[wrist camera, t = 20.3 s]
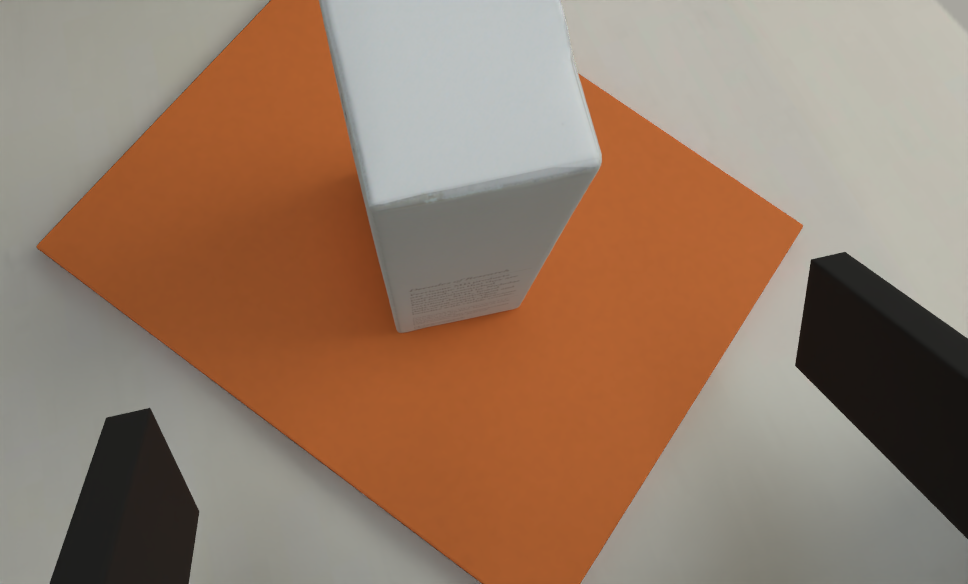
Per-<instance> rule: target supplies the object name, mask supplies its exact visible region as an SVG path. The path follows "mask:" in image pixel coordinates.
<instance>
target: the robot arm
mask: <svg viewBox="0 0 968 584" xmlns="http://www.w3.org/2000/svg"><path fill="white" fill-rule="evenodd" d="M795 366H796V367H797V368H798V369H799V370H800V371H801V372H802V373H803V374H804V375H805V376H806V377H807V378H808V379H809V380H810V381H811V382H812V383H813V384H814V385H815V386H816V387H817V388H818V389H819V390H820V391H821V392H822V393H823V394H824V395H825V396H826V397H827V398H828V399H829V400H830V401H831V402H832V403H833V404H834V405H835V406H836V407H837V408H838V409H839V410H840V411H841V412H842V413H843V414H844V415H845V416H846V417H847V418H848V419H849V420H850V421H851V422H852V423H853V424H854V425H855V426H856V427H857V428H858V429H859V430H860V431H861V432H862V433H863V434H864V435H865V436H866V437H867V438H868V439H869V440H870V441H871V442H872V443H873V444H874V445H875V446H876V447H877V448H878V449H879V450H880V451H881V452H882V453H883V454H884V455H885V456H886V457H887V458H888V459H889V460H890V461H891V462H892V463H893V464H894V465H895V466H896V467H897V469H898V470H899V471H900V472H901V473H902V474H903V475H904V476H905V477H906V478H907V479H908V480H909V481H910V482H911V483H912V484H913V485H914V486H915V487H916V488H917V489H918V490H919V491H920V492H921V493H922V494H923V495H924V496H925V497H926V498H927V499H928V500H929V501H930V502H931V503H932V504H933V505H934V506H935V507H936V508H937V509H938V510H939V511H940V512H941V513H942V514H943V515H944V516H945V517H946V518H947V519H948V520H949V521H950V522H951V523H952V524H953V525H954V526H955V527H956V528H957V529H958V530H959V531H960V532H961V533H962V534H963V535H964V536H965V537H966V538H967V539H968V339H967V338H966V337H965V336H963V335H962V334H960V333H959V332H958V331H956V330H955V329H953V328H952V327H950V326H949V325H948V324H946V323H945V322H943V321H942V320H941V319H939V318H938V317H936V316H935V315H933V314H932V313H931V312H929V311H928V310H926V309H925V308H924V307H922V306H921V305H919V304H918V303H916V302H915V301H914V300H912V299H911V298H909V297H908V296H907V295H905V294H904V293H902V292H901V291H899V290H898V289H897V288H895V287H894V286H892V285H891V284H890V283H888V282H887V281H885V280H884V279H883V278H881V277H880V276H878V275H877V274H875V273H874V272H873V271H871V270H870V269H868V268H867V267H866V266H864V265H863V264H861V263H860V262H858V261H857V260H856V259H854V258H853V257H851V256H850V255H849V254H847V253H846V252H843V253H838V254H834V255H830V256H825V257H821V258H816V259H812V260H811V264H810V271H809V277H808V284H807V290H806V297H805V304H804V310H803V317H802V324H801V330H800V337H799V344H798V350H797V357H796V364H795ZM198 516H199V510H198V508H197V506H196V504H195V501H194V499H193V497H192V495H191V493H190V491H189V489H188V487H187V485H186V483H185V480H184V478H183V476H182V474H181V472H180V470H179V468H178V466H177V464H176V461H175V459H174V457H173V455H172V453H171V451H170V449H169V447H168V445H167V442H166V440H165V438H164V436H163V434H162V432H161V430H160V428H159V426H158V423H157V421H156V419H155V417H154V415H153V413H152V411H151V409H150V408H148V409H143V410H139V411H134V412H130V413H125V414H121V415H117V416H112V417H108V418H106V420H105V423H104V426H103V429H102V432H101V435H100V437H99V440H98V443H97V446H96V449H95V452H94V455H93V458H92V461H91V464H90V467H89V470H88V473H87V476H86V478H85V481H84V484H83V487H82V490H81V493H80V496H79V499H78V502H77V505H76V508H75V511H74V514H73V517H72V519H71V522H70V525H69V528H68V531H67V534H66V537H65V540H64V543H63V546H62V549H61V552H60V555H59V558H58V561H57V563H56V566H55V569H54V572H53V575H52V578H51V581H50V584H189V577H190V570H191V564H192V557H193V550H194V543H195V537H196V530H197V523H198Z"/></svg>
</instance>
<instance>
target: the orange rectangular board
mask: <svg viewBox="0 0 968 584" xmlns="http://www.w3.org/2000/svg"><path fill="white" fill-rule="evenodd" d="M578 75H579V78H580V82H581V85H582V88H583V92H584V96H585V99H586V103H587V106H588V109H589V113H590V116H591V119H592V123H593V126H594V130H595V133H596V136H597V140H598V143H599V147H600V150H601V153H602V163H601V166H600V168H599V170H598V172H597V174H596V176H595V177H594V179H593V180H592V182H591V183H590V185H589V187H588V189H587V191H586V192H585V194H584V195H583V197H582V199H581V201H580V202H579V204H578V205H577V207H576V209H575V210H574V212H573V214H572V215H571V217H570V219H569V221H568V223H567V224H566V226H565V228H564V229H563V231H562V233H561V235H560V236H559V238H558V240H557V242H556V243H555V245H554V247H553V249H552V251H551V252H550V254H549V256H548V257H547V259H546V261H545V263H544V264H543V266H542V268H541V270H540V271H539V273H538V275H537V277H536V278H535V280H534V282H533V284H532V285H531V287H530V289H529V291H528V292H527V294H526V296H525V298H524V299H523V301H522V303H521V305H520V306H519V307H518V308H515V309H512V310H507V311H503V312H498V313H493V314H488V315H484V316H479V317H474V318H470V319H465V320H460V321H455V322H451V323H446V324H441V325H436V326H431V327H426V328H422V329H418V330H414V331H410V332H404V333H399V332H398V331H397V329H396V326H395V322H394V318H393V314H392V310H391V306H390V302H389V298H388V294H387V290H386V286H385V283H384V279H383V275H382V271H381V267H380V264H379V260H378V256H377V252H376V248H375V244H374V240H373V236H372V232H371V228H370V223H369V219H368V215H367V211H366V207H365V203H364V199H363V194H362V190H361V186H360V182H359V178H358V174H357V170H356V165H355V161H354V157H353V153H352V148H351V144H350V140H349V135H348V131H347V126H346V122H345V118H344V113H343V109H342V104H341V100H340V95H339V91H338V87H337V82H336V77H335V73H334V68H333V63H332V58H331V54H330V49H329V44H328V40H327V35H326V31H325V27H324V22H323V17H322V12H321V8H320V4H319V0H271V1H270V2H269V3H268V4H267V5H266V6H265V7H264V8H263V9H262V10H261V11H260V12H259V13H258V14H257V15H256V16H255V17H254V19H253V20H252V21H251V22H250V23H249V24H248V25H247V26H246V27H245V28H244V29H243V30H242V31H241V32H240V33H239V34H238V35H237V36H236V37H235V38H234V39H233V41H232V42H231V43H230V44H229V45H228V46H227V47H226V48H225V49H224V50H223V51H222V52H221V53H220V54H219V55H218V56H217V57H216V58H215V59H214V60H213V61H212V63H211V64H210V65H209V66H208V67H207V68H206V69H205V70H204V71H203V72H202V73H201V74H200V75H199V76H198V77H197V78H196V79H195V80H194V81H193V82H192V83H191V85H190V86H189V87H188V88H187V89H186V90H185V91H184V92H183V93H182V94H181V95H180V96H179V97H178V98H177V99H176V100H175V101H174V102H173V103H172V104H171V105H170V107H169V108H168V109H167V110H166V111H165V112H164V113H163V114H162V115H161V116H160V117H159V118H158V119H157V120H156V121H155V122H154V123H153V124H152V125H151V126H150V127H149V129H148V130H147V131H146V132H145V133H144V134H143V135H142V136H141V137H140V138H139V139H138V140H137V141H136V142H135V143H134V144H133V145H132V146H131V147H130V148H129V149H128V151H127V152H126V153H125V154H124V155H123V156H122V157H121V158H120V159H119V160H118V161H117V162H116V163H115V164H114V165H113V166H112V167H111V168H110V169H109V170H108V171H107V173H106V174H105V175H104V176H103V177H102V178H101V179H100V180H99V181H98V182H97V183H96V184H95V185H94V186H93V187H92V188H91V189H90V190H89V191H88V192H87V193H86V195H85V196H84V197H83V198H82V199H81V200H80V201H79V202H78V203H77V204H76V205H75V206H74V207H73V208H72V209H71V210H70V211H69V212H68V213H67V214H66V215H65V217H64V218H63V219H62V220H61V221H60V222H59V223H58V224H57V225H56V226H55V227H54V228H53V229H52V230H51V231H50V232H49V233H48V234H47V235H46V236H45V238H44V239H43V240H42V241H41V242H40V243H39V244H38V245H37V248H38V249H39V250H40V251H42V252H43V253H44V254H45V255H47V256H48V257H49V258H51V259H52V260H53V261H55V262H56V263H57V264H59V265H60V266H61V267H63V268H64V269H65V270H67V271H68V272H69V273H71V274H72V275H73V276H75V277H76V278H77V279H79V280H80V281H81V282H83V283H84V284H85V285H87V286H88V287H89V288H91V289H92V290H93V291H95V292H96V293H97V294H99V295H100V296H101V297H103V298H104V299H105V300H107V301H108V302H109V303H111V304H112V305H113V306H114V307H116V308H117V309H118V310H120V311H121V312H122V313H124V314H125V315H126V316H128V317H129V318H130V319H132V320H133V321H134V322H136V323H137V324H138V325H140V326H141V327H142V328H144V329H145V330H146V331H148V332H149V333H150V334H152V335H153V336H154V337H156V338H157V339H158V340H160V341H161V342H162V343H164V344H165V345H166V346H168V347H169V348H170V349H172V350H173V351H174V352H176V353H177V354H178V355H180V356H181V357H182V358H183V359H185V360H186V361H187V362H189V363H190V364H191V365H193V366H194V367H195V368H197V369H198V370H199V371H201V372H202V373H203V374H205V375H206V376H207V377H209V378H210V379H211V380H213V381H214V382H215V383H217V384H218V385H219V386H221V387H222V388H223V389H225V390H226V391H227V392H229V393H230V394H231V395H233V396H234V397H235V398H237V399H238V400H239V401H241V402H242V403H243V404H245V405H246V406H247V407H249V408H250V409H251V410H252V411H254V412H255V413H256V414H258V415H259V416H260V417H262V418H263V419H264V420H266V421H267V422H268V423H270V424H271V425H272V426H274V427H275V428H276V429H278V430H279V431H280V432H282V433H283V434H284V435H286V436H287V437H288V438H290V439H291V440H292V441H294V442H295V443H296V444H298V445H299V446H300V447H302V448H303V449H304V450H306V451H307V452H308V453H310V454H311V455H312V456H314V457H315V458H316V459H318V460H319V461H320V462H321V463H323V464H324V465H325V466H327V467H328V468H329V469H331V470H332V471H333V472H335V473H336V474H337V475H339V476H340V477H341V478H343V479H344V480H345V481H347V482H348V483H349V484H351V485H352V486H353V487H355V488H356V489H357V490H359V491H360V492H361V493H363V494H364V495H365V496H367V497H368V498H369V499H371V500H372V501H373V502H375V503H376V504H377V505H379V506H380V507H381V508H383V509H384V510H385V511H387V512H388V513H389V514H390V515H392V516H393V517H394V518H396V519H397V520H398V521H400V522H401V523H402V524H404V525H405V526H406V527H408V528H409V529H410V530H412V531H413V532H414V533H416V534H417V535H418V536H420V537H421V538H422V539H424V540H425V541H426V542H428V543H429V544H430V545H432V546H433V547H434V548H436V549H437V550H438V551H440V552H441V553H442V554H444V555H445V556H446V557H448V558H449V559H450V560H452V561H453V562H454V563H456V564H457V565H458V566H460V567H461V568H462V569H463V570H465V571H466V572H467V573H469V574H470V575H471V576H473V577H474V578H475V579H477V580H478V581H479V582H481V583H482V584H580V583H581V581H582V580H583V578H584V577H585V575H586V573H587V572H588V570H589V569H590V567H591V565H592V564H593V562H594V561H595V559H596V557H597V556H598V554H599V553H600V551H601V549H602V548H603V546H604V545H605V543H606V541H607V540H608V538H609V537H610V535H611V533H612V532H613V530H614V529H615V527H616V525H617V524H618V522H619V521H620V519H621V517H622V516H623V514H624V513H625V511H626V509H627V508H628V506H629V505H630V503H631V501H632V500H633V498H634V497H635V495H636V493H637V492H638V490H639V489H640V487H641V485H642V484H643V482H644V481H645V479H646V477H647V476H648V474H649V473H650V471H651V469H652V468H653V466H654V465H655V463H656V461H657V460H658V458H659V457H660V455H661V453H662V452H663V450H664V449H665V447H666V445H667V444H668V442H669V441H670V439H671V437H672V436H673V434H674V433H675V431H676V429H677V428H678V426H679V425H680V423H681V421H682V420H683V418H684V417H685V415H686V413H687V412H688V410H689V409H690V407H691V405H692V404H693V402H694V401H695V399H696V397H697V396H698V394H699V393H700V391H701V389H702V388H703V386H704V385H705V383H706V381H707V380H708V378H709V377H710V375H711V373H712V372H713V370H714V368H715V367H716V365H717V364H718V362H719V360H720V359H721V357H722V356H723V354H724V352H725V351H726V349H727V348H728V346H729V344H730V343H731V341H732V340H733V338H734V336H735V335H736V333H737V332H738V330H739V328H740V327H741V325H742V324H743V322H744V320H745V319H746V317H747V316H748V314H749V312H750V311H751V309H752V308H753V306H754V304H755V303H756V301H757V300H758V298H759V296H760V295H761V293H762V292H763V290H764V288H765V287H766V285H767V284H768V282H769V280H770V279H771V277H772V276H773V274H774V272H775V271H776V269H777V268H778V266H779V264H780V263H781V261H782V260H783V258H784V256H785V255H786V253H787V252H788V250H789V248H790V247H791V245H792V244H793V242H794V240H795V239H796V237H797V236H798V234H799V232H800V231H801V229H802V228H803V225H802V224H800V223H799V222H797V221H796V220H794V219H793V218H792V217H790V216H789V215H787V214H786V213H784V212H783V211H781V210H780V209H778V208H777V207H775V206H774V205H772V204H771V203H769V202H768V201H766V200H765V199H763V198H762V197H760V196H759V195H757V194H756V193H754V192H753V191H752V190H750V189H749V188H747V187H746V186H744V185H743V184H741V183H740V182H738V181H737V180H735V179H734V178H732V177H731V176H729V175H728V174H726V173H725V172H723V171H722V170H720V169H719V168H717V167H716V166H714V165H713V164H712V163H710V162H709V161H707V160H706V159H704V158H703V157H701V156H700V155H698V154H697V153H695V152H694V151H692V150H691V149H689V148H688V147H686V146H685V145H683V144H682V143H680V142H679V141H677V140H676V139H675V138H673V137H672V136H670V135H669V134H667V133H666V132H664V131H663V130H661V129H660V128H658V127H657V126H655V125H654V124H652V123H651V122H649V121H648V120H646V119H645V118H643V117H642V116H640V115H639V114H637V113H636V112H635V111H633V110H632V109H630V108H629V107H627V106H626V105H624V104H623V103H621V102H620V101H618V100H617V99H615V98H614V97H612V96H611V95H609V94H608V93H606V92H605V91H603V90H602V89H600V88H599V87H597V86H596V85H595V84H593V83H592V82H590V81H589V80H587V79H586V78H584V77H583V76H581V75H580V74H578Z"/></svg>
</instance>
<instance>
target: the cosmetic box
mask: <svg viewBox="0 0 968 584" xmlns="http://www.w3.org/2000/svg"><path fill="white" fill-rule="evenodd" d="M319 4H320V8H321V12H322V17H323V22H324V27H325V31H326V35H327V40H328V44H329V49H330V54H331V58H332V63H333V68H334V73H335V77H336V82H337V87H338V91H339V95H340V100H341V104H342V109H343V113H344V118H345V122H346V126H347V131H348V135H349V140H350V144H351V148H352V153H353V157H354V161H355V165H356V170H357V174H358V178H359V182H360V186H361V190H362V194H363V199H364V203H365V207H366V211H367V215H368V219H369V223H370V228H371V232H372V236H373V240H374V244H375V248H376V252H377V256H378V260H379V264H380V267H381V271H382V275H383V279H384V283H385V286H386V290H387V294H388V298H389V302H390V306H391V310H392V314H393V318H394V322H395V326H396V329H397V331H398V332H399V333H404V332H410V331H414V330H418V329H422V328H426V327H431V326H436V325H441V324H446V323H451V322H455V321H460V320H465V319H470V318H474V317H479V316H484V315H488V314H493V313H498V312H503V311H507V310H512V309H515V308H518V307H519V306H520V305H521V303H522V301H523V299H524V298H525V296H526V294H527V292H528V291H529V289H530V287H531V285H532V284H533V282H534V280H535V278H536V277H537V275H538V273H539V271H540V270H541V268H542V266H543V264H544V263H545V261H546V259H547V257H548V256H549V254H550V252H551V251H552V249H553V247H554V245H555V243H556V242H557V240H558V238H559V236H560V235H561V233H562V231H563V229H564V228H565V226H566V224H567V223H568V221H569V219H570V217H571V215H572V214H573V212H574V210H575V209H576V207H577V205H578V204H579V202H580V201H581V199H582V197H583V195H584V194H585V192H586V191H587V189H588V187H589V185H590V183H591V182H592V180H593V179H594V177H595V176H596V174H597V172H598V170H599V168H600V166H601V163H602V153H601V150H600V147H599V143H598V140H597V136H596V133H595V130H594V126H593V123H592V119H591V116H590V113H589V109H588V106H587V103H586V99H585V96H584V92H583V88H582V85H581V82H580V78H579V75H578V71H577V68H576V64H575V61H574V57H573V52H572V48H571V44H570V38H569V32H568V27H567V22H566V18H565V15H564V11H563V7H562V4H561V1H560V0H319Z"/></svg>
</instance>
